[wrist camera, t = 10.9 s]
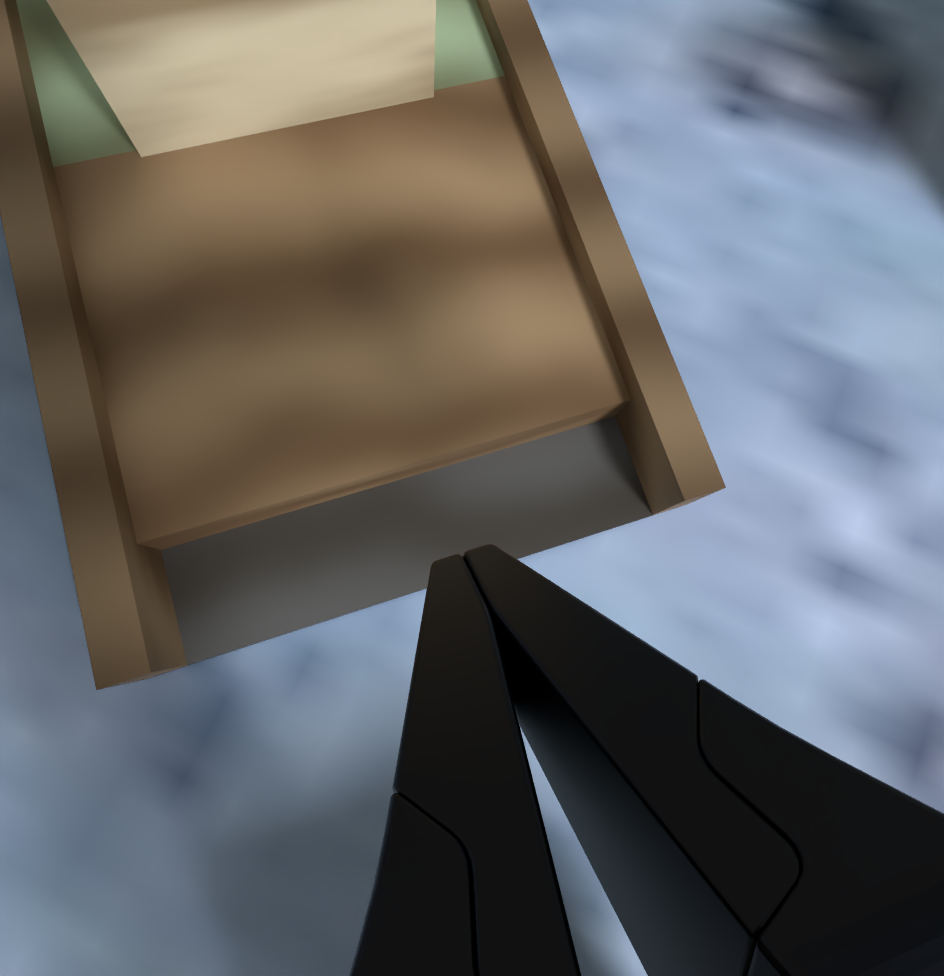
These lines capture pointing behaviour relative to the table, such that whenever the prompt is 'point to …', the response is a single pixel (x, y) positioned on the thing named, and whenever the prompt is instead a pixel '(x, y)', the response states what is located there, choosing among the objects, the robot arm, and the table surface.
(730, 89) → the table surface
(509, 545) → the trap lane
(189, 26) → the birch block
